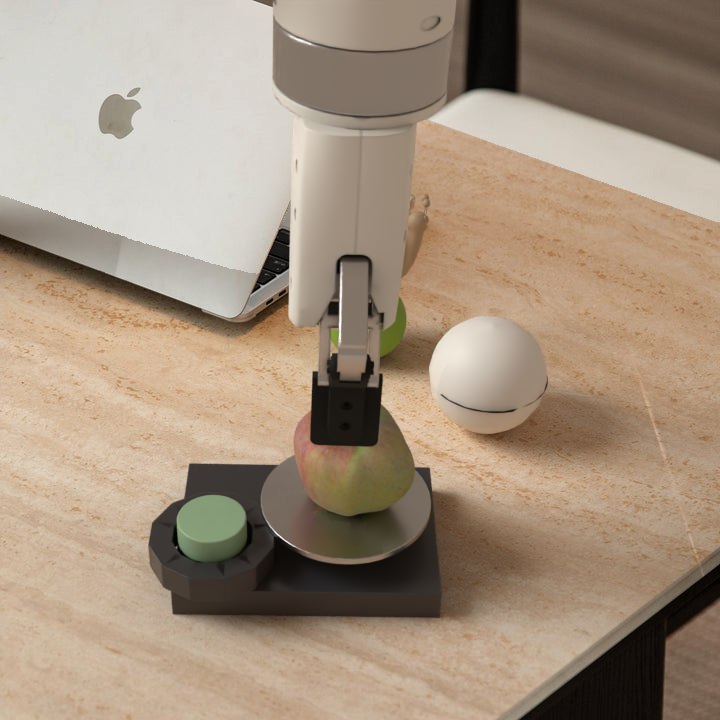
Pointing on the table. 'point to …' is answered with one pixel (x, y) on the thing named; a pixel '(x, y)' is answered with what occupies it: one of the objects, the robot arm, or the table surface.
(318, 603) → the scale
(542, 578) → the table surface
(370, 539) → the weighing pan
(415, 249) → the snail figurine
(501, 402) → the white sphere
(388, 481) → the apple
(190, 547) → the tare button
